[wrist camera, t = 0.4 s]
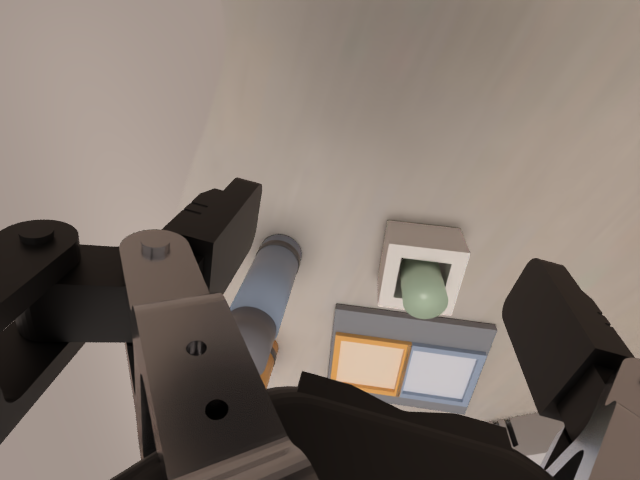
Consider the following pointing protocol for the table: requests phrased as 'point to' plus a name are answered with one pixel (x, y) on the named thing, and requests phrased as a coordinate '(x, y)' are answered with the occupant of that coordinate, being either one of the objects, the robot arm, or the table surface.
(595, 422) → the robot arm
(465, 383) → the picture board
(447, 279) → the button housing
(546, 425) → the power supply unit
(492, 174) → the table surface
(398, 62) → the table surface
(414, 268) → the button
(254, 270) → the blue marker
